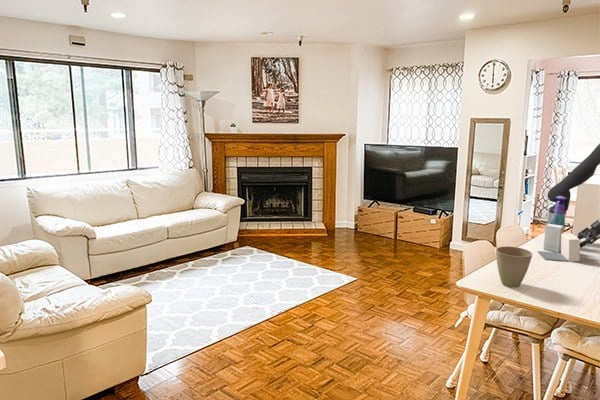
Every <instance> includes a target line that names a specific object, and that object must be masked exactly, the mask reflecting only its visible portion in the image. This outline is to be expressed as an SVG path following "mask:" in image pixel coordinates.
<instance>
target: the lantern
mask: <svg viewBox="0 0 600 400" xmlns="http://www.w3.org/2000/svg"><path fill="white" fill-rule="evenodd" d="M556 198H557V203H556V202H555V203H556V205H555V204H554V205H555V209H554V214H553V216H552V219H551V222H550V224H554V225H561V226H564V229H563V230H565V228H566V223H565V222H566V219H565V220H564V215H563V214H564V213H565V211H564V207H565V205H564V200H565V199H566V198H565V197H563V196H558V197H556Z"/></svg>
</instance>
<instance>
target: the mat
mask: <svg viewBox="0 0 600 400" xmlns="http://www.w3.org/2000/svg"><path fill="white" fill-rule="evenodd" d="M537 253H538V254H539V255H540V256H541V257H542V259H544V260H545V261H555V262H567V263H568V262H570V261H568V260H567V259H566V258H565V257H564V256H563V255H562V254H561V252H553V251H545V250H542V251H541V250H537Z"/></svg>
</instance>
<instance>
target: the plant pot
mask: <svg viewBox="0 0 600 400" xmlns="http://www.w3.org/2000/svg"><path fill="white" fill-rule="evenodd" d="M495 256H496V257H495V258H496V265H497V271H498V276H499V279H500V282H501V284H502V285H503V286H505V287H508V288H518V287H520V286H521V284H522V282H523V280H524V279H525V276H526V274H527V272H528V270H529V267H530V264H531V260H532V257H533V252H532V251H530V250H528V249H525V248H522V247H518V246H508V245H507V246H506V245H505V246H498V247H496V249H495Z"/></svg>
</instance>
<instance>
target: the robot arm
mask: <svg viewBox="0 0 600 400" xmlns="http://www.w3.org/2000/svg"><path fill="white" fill-rule="evenodd" d="M599 165H600V143H599V144H597V146H595V148H594V149H593V150H592V151H591V153H590V154H588V156H587V157H586V158H584V160H582V161H581V162H580V163H579V164H578V165H577V166H575V168H573V170H571V172H569V173H568V174H567V175H566V176H564V178H562V180H561V181H560V182H558V183H557V184H555V185H553V186H552V187H551V188H550V189H549V190H548V192H547V199H548V200H549V201H550V202H551V203H554V204H553V205H552V206H550V207H549V209H548V216H547V222H546V225H547V224H550V222H551V219H552V216H553V214H554V209H555V205H556V203H557V198H556V197H558V196H563V197H565V198H566V199H565V200H564V205H565V207H564V211H565V213H564V214H563V215H564V220H565V221H566V216H567V215H566V214H567V211H568V210H569V207H570V201H571V191H570V190H571V189H574V188H576V187H579V186H581V185H582V184H584V183H586V182H587V181H588V180H589V179H590V178H592V177H593V175H594V174H595V173H596V171H597V168H598V166H599ZM564 230H565V229H564ZM564 230H563V232H564ZM576 237H577V238H578V239H580V241H581V240H583V239H584V240H583V241H581V242H580V249H582V248H584V247H585V246H587V245H593V244H594V243H595V242H596V241H598V240H599V239H600V218H598V219H597V220H595V221H594V222H593V223H591V224H590V228H588V226H587V227H585V228H584V229H582V230H581V231H580V232H577V236H576Z"/></svg>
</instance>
